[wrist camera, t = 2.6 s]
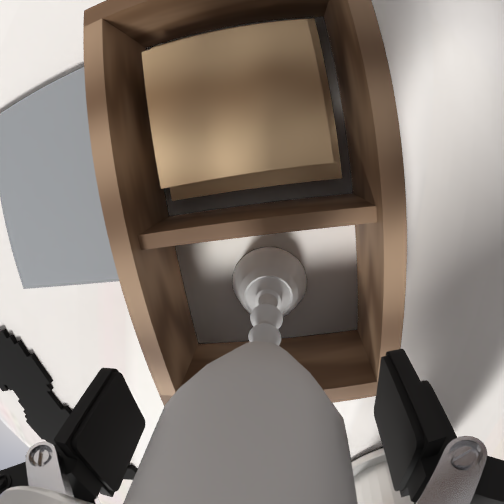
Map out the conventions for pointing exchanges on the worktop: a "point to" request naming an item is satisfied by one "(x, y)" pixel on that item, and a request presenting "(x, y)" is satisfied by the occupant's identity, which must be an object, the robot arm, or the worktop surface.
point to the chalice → (251, 415)
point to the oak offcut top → (236, 103)
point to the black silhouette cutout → (34, 390)
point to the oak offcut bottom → (277, 175)
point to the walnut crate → (248, 216)
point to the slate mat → (53, 189)
